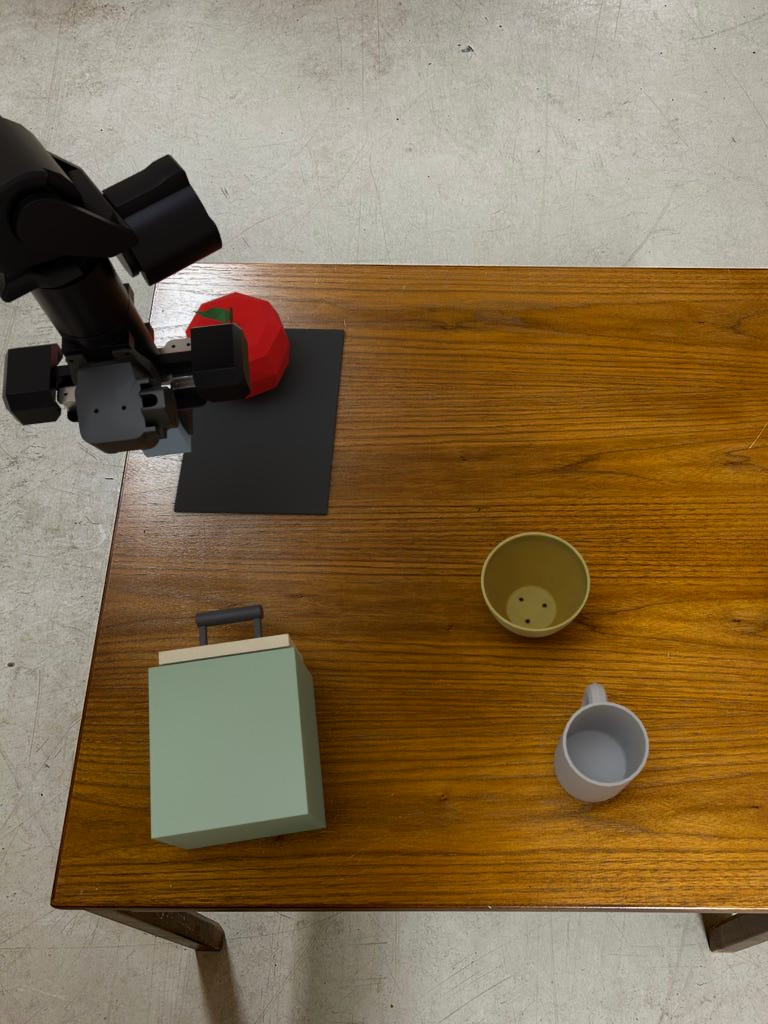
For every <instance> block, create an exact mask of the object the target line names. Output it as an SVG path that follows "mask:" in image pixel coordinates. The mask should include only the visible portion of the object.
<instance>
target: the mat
mask: <svg viewBox="0 0 768 1024" xmlns="http://www.w3.org/2000/svg"><path fill="white" fill-rule="evenodd" d="M284 330H285V333H286V335H287V338H288V340H289V363H288V365H287V367H286V369H285V371H284V373H283V375H282V377H281V379H280V381H279V383H278V384H277V386H276V388H273V389H271V390H268V391H265V392H263V393H260V394H258V395H255V396H252V397H250V398H247V399H240V400H231V401H223V402H215V403H212V402H210V401H207V403H206V405H205V406H203V407H200V408H193V413H192V414H193V435H191V452H187V453H182V458H181V464H180V471H179V475H178V482H177V488H176V493H175V500H174V506H173V512H174V513H184V514H185V513H191V514H193V513H194V514H234V515H235V514H236V515H237V514H239V515H240V514H242V515H285V516H286V515H290V516H291V515H293V516H328V509H329V499H330V489H331V488H330V487H331V479H332V477H331V476H332V466H333V457H334V456H333V455H334V454H333V453H334V446H335V445H334V444H335V436H336V435H335V434H336V423H337V413H338V403H339V394H340V393H339V392H340V382H341V373H342V363H343V362H342V361H343V351H344V340H345V329H339V328H291V327H284Z"/></svg>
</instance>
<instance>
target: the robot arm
mask: <svg viewBox="0 0 768 1024" xmlns="http://www.w3.org/2000/svg"><path fill="white" fill-rule="evenodd" d="M222 249H223V241H222V237H221V233H220V231H219V228H218V226H217V224H216V222H215V221H214V220H213V218H212V217H211V216H210V215H209V213H208V211H207V209H206V207H205V205H204V204H203V201H202V200H201V199H200V197H199V195H198V194H197V192H196V191H195V189H194V187H193V185H191V183H190V180H189V177H188V174H187V172H186V170H185V169H184V168H183V167H182V166H181V165H180V164H179V162H178V161H177V160H176V158H175V157H173V155H172V154H168V153H167V154H165V155H163V156H161V157H159V158H157V159H155V160H154V161H152V162H151V163H149V165H148V166H146V167H145V168H143V169H142V170H139V171H138V172H136V173H134V174H132V175H130V176H128V177H126V178H124V179H122V180H120V181H118V182H116V183H114V184H112V185H110V186H107V187H106V188H104V189H102V190H100V189H99V187H98V186H97V185H96V184H95V183H94V181H93V180H92V179H91V178H90V176H89V175H88V174H87V173H86V171H85V170H84V169H83V167H82V166H80V165H77V164H75V163H73V162H72V161H69V160H67V159H65V158H63V157H61V156H59V155H57V154H55V153H53V152H51V151H50V150H47V148H45V146H44V145H43V144H42V143H41V141H39V139H38V138H37V137H36V135H35V134H34V133H33V132H32V131H30V130H29V129H28V128H27V127H25V126H24V125H23V124H21V123H19V122H17V121H14V120H11V119H9V118H6V117H3V116H2V115H1V114H0V300H2V302H4V303H5V304H7V303H8V304H9V303H12V302H14V301H16V300H18V299H20V298H22V297H24V296H25V295H27V294H29V293H31V295H32V296H33V298H34V299H35V301H36V302H37V304H38V305H39V306H40V308H41V309H42V311H43V313H44V314H45V315H46V317H47V318H48V320H49V321H50V323H51V324H52V325H53V327H54V328H55V330H56V331H57V333H58V335H59V336H60V337H61V346H60V345H59V343H58V342H54V343H46V344H36V345H27V346H18V347H11V348H8V349H7V351H6V353H5V355H4V364H3V378H2V392H1V394H2V395H1V398H2V401H3V404H4V407H5V409H6V410H7V411H8V412H9V413H10V415H11V416H12V417H13V419H15V420H16V421H17V422H18V423H19V424H21V425H22V426H30V425H38V424H47V423H55V422H57V421H58V419H59V418H60V417H61V416H62V407H61V406H60V405H63V406H64V407H65V409H66V418H67V420H68V421H69V422H71V423H78V429H79V434H80V437H81V439H82V440H83V441H84V442H85V443H87V444H88V445H90V446H92V447H94V448H95V449H97V450H99V451H101V452H102V453H104V454H107V455H114V454H115V455H116V454H118V453H126V452H133V451H142V450H148V449H152V448H154V447H155V446H156V445H157V444H158V442H159V440H160V439H167V431H168V430H169V429H173V428H177V427H178V426H179V419H178V416H179V418H180V421H181V423H182V425H183V428H184V429H185V430H186V432H187V433H188V434H189V435H193V414H192V413H193V408H200V407H203V406H205V405H206V403H207V401H210V402H212V403H215V402H223V401H231V400H240V399H245V398H246V397H247V396H248V395H249V394H250V393H251V385H250V370H249V355H248V342H247V340H246V337H245V334H244V332H243V329H242V328H240V327H239V326H238V325H237V324H236V323H228V324H219V325H210V326H201V327H193V328H190V337H191V338H187V337H182V338H175V339H170V340H168V341H167V342H166V343H165V345H164V346H163V347H157V345H156V343H155V329H154V328H153V326H152V324H151V322H147V321H146V322H144V321H143V318H142V316H141V315H140V313H139V311H138V309H137V308H136V306H135V292H134V289H133V288H132V286H131V284H130V283H129V282H125V283H123V281H122V280H121V278H120V276H119V274H118V272H117V270H116V268H115V267H114V265H113V262H112V261H111V259H112V258H115V257H116V258H117V261H119V263H120V264H121V266H122V267H123V270H124V269H125V271H126V273H127V274H128V275H129V276H130V277H131V278H133V279H134V278H135V277H138V276H139V275H141V276H142V278H143V279H144V281H145V283H146V285H147V286H148V287H152V286H154V285H157V284H159V283H160V282H162V281H164V280H166V279H168V278H170V277H171V276H173V275H175V274H177V273H180V272H181V271H183V270H184V269H186V268H189V267H190V266H192V265H194V264H195V263H198V262H199V261H201V260H202V259H203V260H204V259H206V257H208V256H211V255H212V254H214V253H216V252H217V251H220V250H222ZM110 258H111V259H110ZM63 359H64V361H65V363H66V364H62V365H60V363H61V361H62V360H63Z"/></svg>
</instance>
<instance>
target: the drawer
mask: <svg viewBox="0 0 768 1024" xmlns="http://www.w3.org/2000/svg"><path fill="white" fill-rule="evenodd" d="M264 618H265V612H264V608H263V605H262V604H251V605H244V606H238V607H230V608H224V609H223V608H222V609H217V610H216V609H215V610H209V611H203V612H201V611H200V612H196V613H195V615H194V621H195V625H196V627H197V628H198V635H199V636H198V637H199V646H192V647H186V648H184V647H183V648H178V649H177V648H176V649H171V650H165V651H159V652H158V665H159V666H166V665H173V664H180V663H187V662H194V661H201V660H208V659H215V658H222V657H229V656H236V655H243V654H249V653H256V652H263V651H270V650H277V649H284V648H291V647H294V648H295V649H296V651H297V653H298V654H299V656H300V657H301V659H302V661H303V662H304V658H303V655H302V654H301V652H300V651H299V649H298V647H297V646H296V644H295V643H294V641H293V639H292V637H291V636H290V634H289V633H283V634H277V635H276V634H275V635H270V636H263V628H262V626H263V625H262V620H263V619H264ZM245 622H253V634H254V638H248V639H247V638H246V639H242V640H236V641H235V640H234V641H226V642H220V643H214V644H213V643H212V644H209V643H208V639H209V638H208V627H209V628H210V627H216V626H223V625H224V626H225V625H230V624H238V623H245Z"/></svg>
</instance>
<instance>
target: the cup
mask: <svg viewBox="0 0 768 1024" xmlns="http://www.w3.org/2000/svg"><path fill="white" fill-rule="evenodd" d="M608 700H609V699H608V695H607V692H606V690H605V688H604V685H602V684H600V683H598V682H593V683H590V684H588V685H587V686H586V687H585V689H584V692H583V695H582V699H581V707H580V708H579V709H578V710H577V711H576V712H574V713H573V714H572V715H571V716H570V719H569V720H568V721H567V723H566V725H565V727H564V729H563V730H562V731H563V732H562V734H561V736H560V738H559V741H558V742H557V745H556V747H555V748H556V749H555V751H554V755H553V756H554V757H553V770H554V774H555V777H556V779H557V781H558V783H559V785H560V786H561V788H563V789H564V790H565V791H566V793H568V794H569V795H570V796H572V798H575V799H577V800H580V801H582V802H585V803H586V802H587V803H599V802H605V801H607V800H609V799H612V798H614V797H616V796H617V795H618V794H619V793H621V791H623V790H624V789H625V788H626V786H627V785H629V784H630V783H631V782H632V781H633V780H634V779H635V778H636V777H637V776H638V775H639V774H640V773H641V771H642V769H643V768H644V767H645V765H646V763H647V760H648V757H649V754H650V740H649V736H648V733H647V730H646V728H645V726H644V724H643V722H642V721H641V719H640V718H639V717H638V716H637V715H636V714H635V713H634V712H633V711H631V710H630V709H628V708H627V707H625V706H624V705H622V704H618V703H615V702H610V701H608Z"/></svg>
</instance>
